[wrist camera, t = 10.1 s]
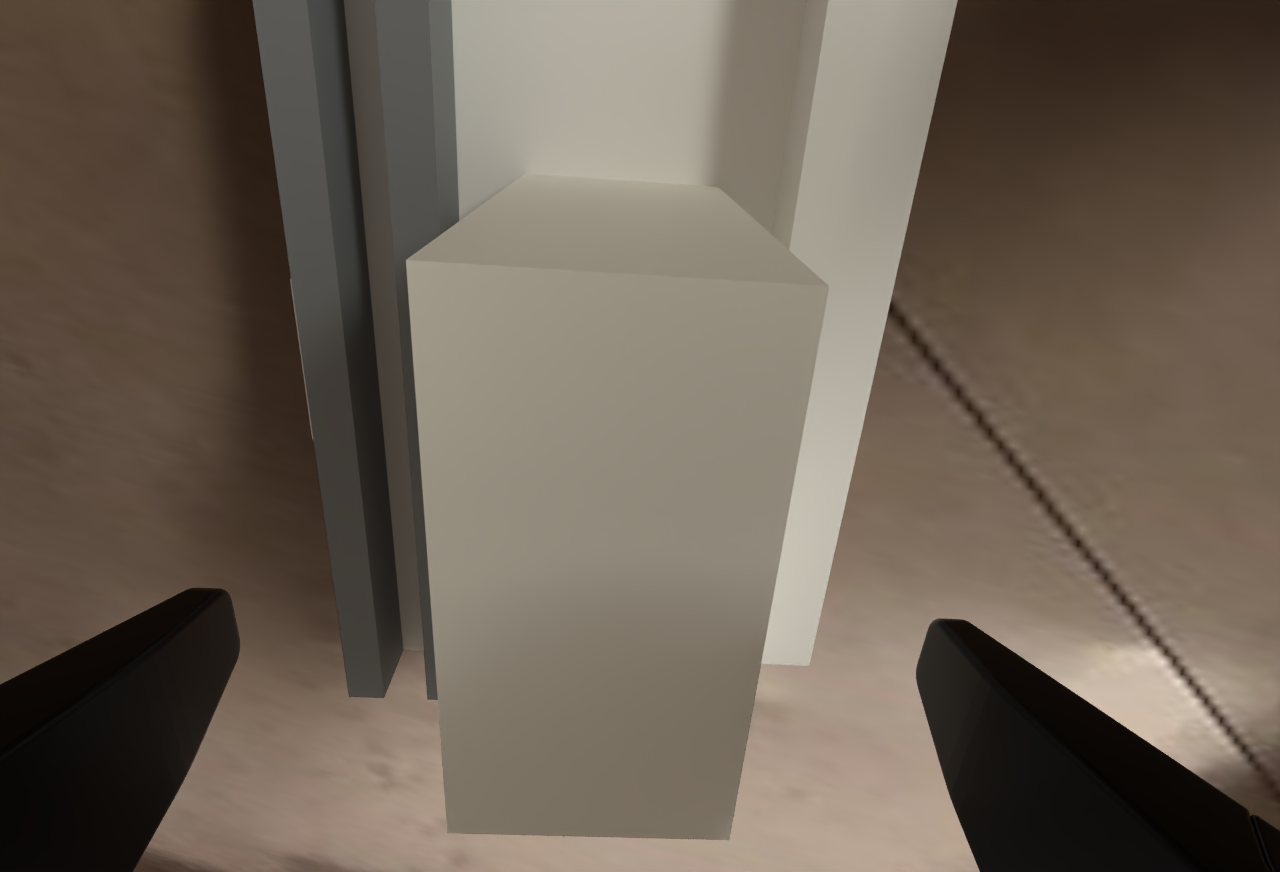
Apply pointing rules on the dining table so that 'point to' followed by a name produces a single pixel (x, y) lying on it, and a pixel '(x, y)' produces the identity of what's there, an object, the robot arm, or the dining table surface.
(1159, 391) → the dining table surface
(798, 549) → the shelf
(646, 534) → the cream carton
